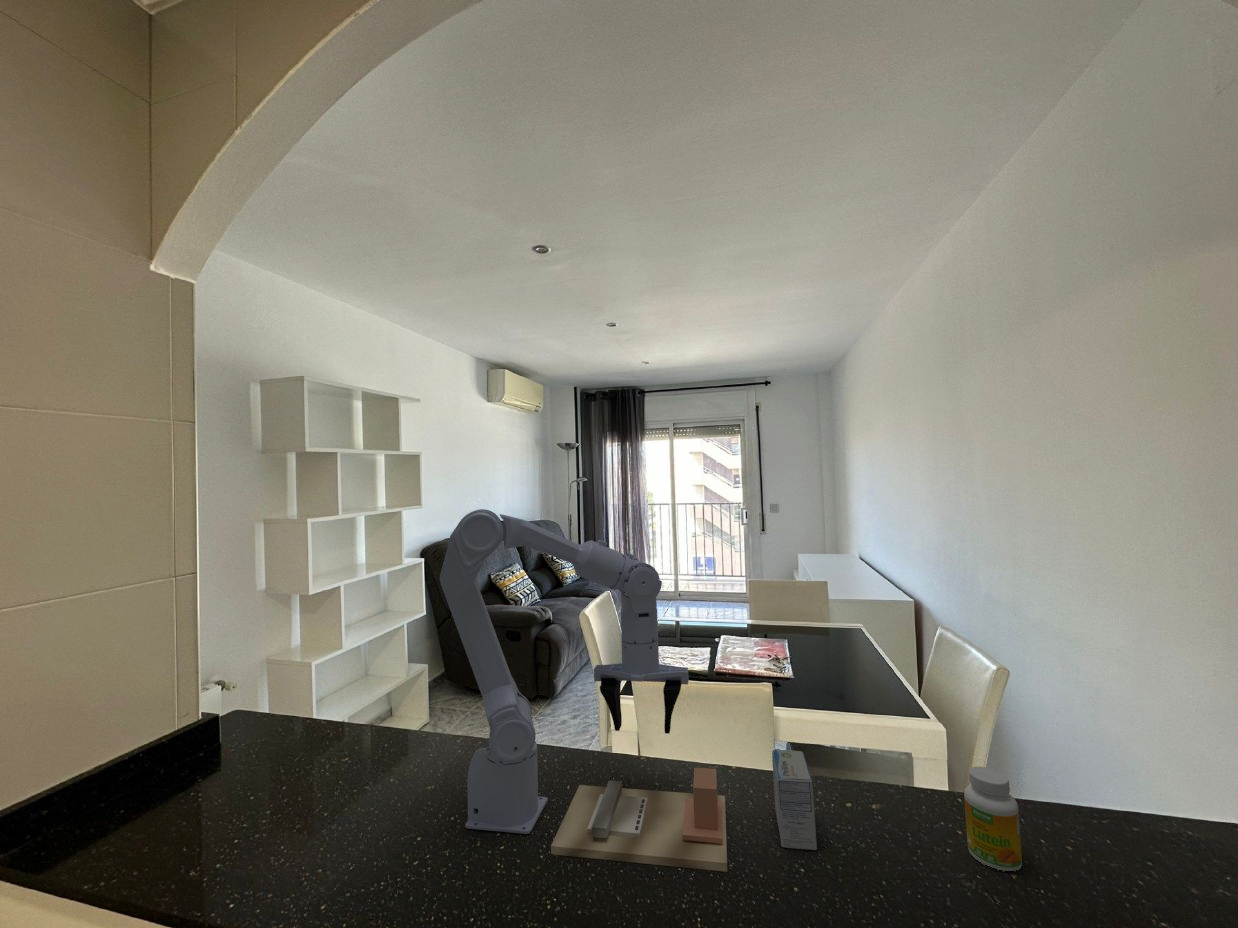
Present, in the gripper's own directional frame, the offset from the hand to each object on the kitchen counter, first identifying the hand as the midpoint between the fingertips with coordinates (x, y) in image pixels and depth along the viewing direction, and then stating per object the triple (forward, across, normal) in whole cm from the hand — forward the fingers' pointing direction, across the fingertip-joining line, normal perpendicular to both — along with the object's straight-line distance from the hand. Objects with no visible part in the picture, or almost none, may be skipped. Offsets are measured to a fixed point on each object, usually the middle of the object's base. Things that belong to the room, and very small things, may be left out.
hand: (642, 729), depth 79 cm
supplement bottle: (+10, +44, -8) cm, 46 cm away
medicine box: (+10, +21, -6) cm, 24 cm away
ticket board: (+9, +1, -8) cm, 12 cm away
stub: (+8, +9, -8) cm, 15 cm away
